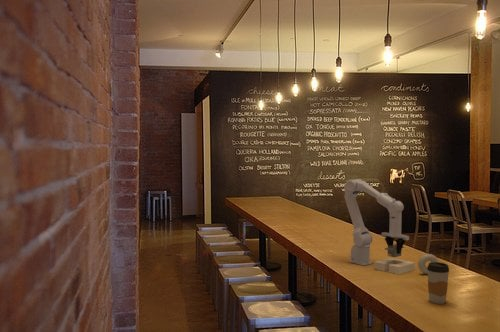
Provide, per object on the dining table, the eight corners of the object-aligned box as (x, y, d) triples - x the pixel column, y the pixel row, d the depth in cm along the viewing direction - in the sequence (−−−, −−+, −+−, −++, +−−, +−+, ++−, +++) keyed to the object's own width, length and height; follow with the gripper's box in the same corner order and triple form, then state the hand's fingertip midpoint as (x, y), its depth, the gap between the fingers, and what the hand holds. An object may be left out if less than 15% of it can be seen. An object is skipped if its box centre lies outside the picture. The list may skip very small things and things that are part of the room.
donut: (419, 275, 246) (419, 254, 245) (416, 273, 249) (417, 253, 249) (440, 275, 246) (440, 254, 245) (437, 273, 249) (437, 253, 249)
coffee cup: (443, 298, 211) (444, 261, 210) (452, 304, 203) (453, 267, 202) (423, 298, 211) (424, 261, 210) (431, 304, 202) (431, 267, 202)
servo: (384, 256, 254) (384, 245, 254) (397, 253, 262) (397, 242, 261) (391, 258, 251) (391, 246, 251) (404, 254, 258) (404, 243, 258)
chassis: (374, 268, 258) (374, 261, 258) (390, 264, 267) (390, 257, 267) (399, 274, 247) (399, 267, 247) (414, 269, 256) (414, 262, 256)
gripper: (378, 224, 259) (377, 251, 259) (403, 228, 248) (403, 256, 248) (386, 223, 263) (385, 249, 264) (411, 226, 252) (411, 254, 253)
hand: (394, 252), depth 257 cm, fingers closed on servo, 4 cm apart
